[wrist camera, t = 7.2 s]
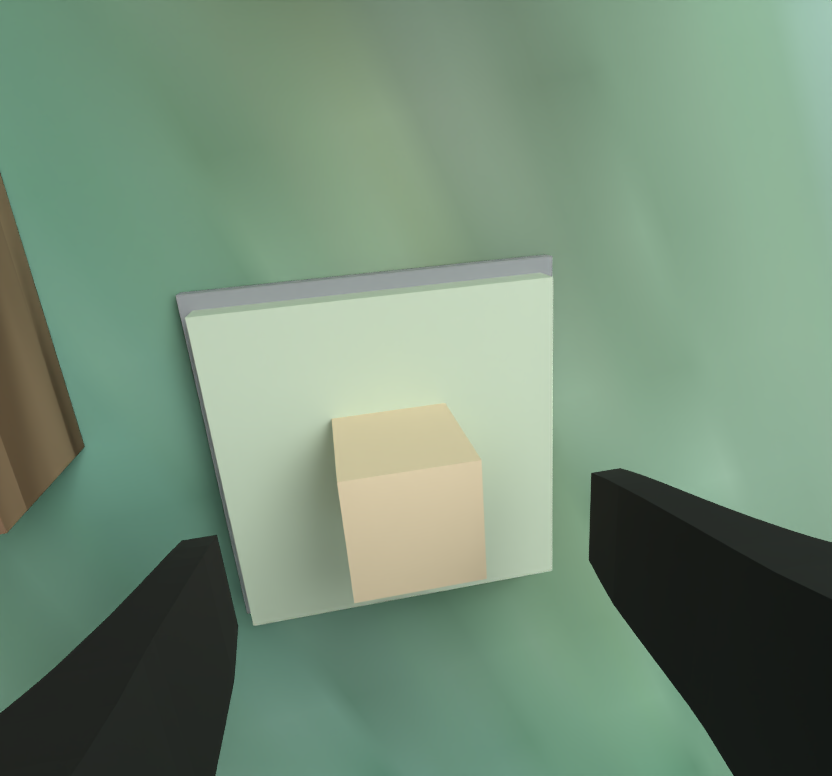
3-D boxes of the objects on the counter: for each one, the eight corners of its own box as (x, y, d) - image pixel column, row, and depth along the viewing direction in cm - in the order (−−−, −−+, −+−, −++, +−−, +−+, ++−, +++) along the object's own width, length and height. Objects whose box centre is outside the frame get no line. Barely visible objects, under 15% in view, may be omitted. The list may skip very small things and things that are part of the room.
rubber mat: (248, 604, 16) (247, 613, 16) (179, 292, 13) (175, 295, 13) (545, 550, 17) (551, 558, 17) (546, 254, 14) (552, 255, 14)
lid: (256, 605, 16) (239, 732, 12) (192, 310, 13) (144, 358, 9) (541, 554, 17) (606, 655, 13) (540, 272, 14) (622, 300, 10)
